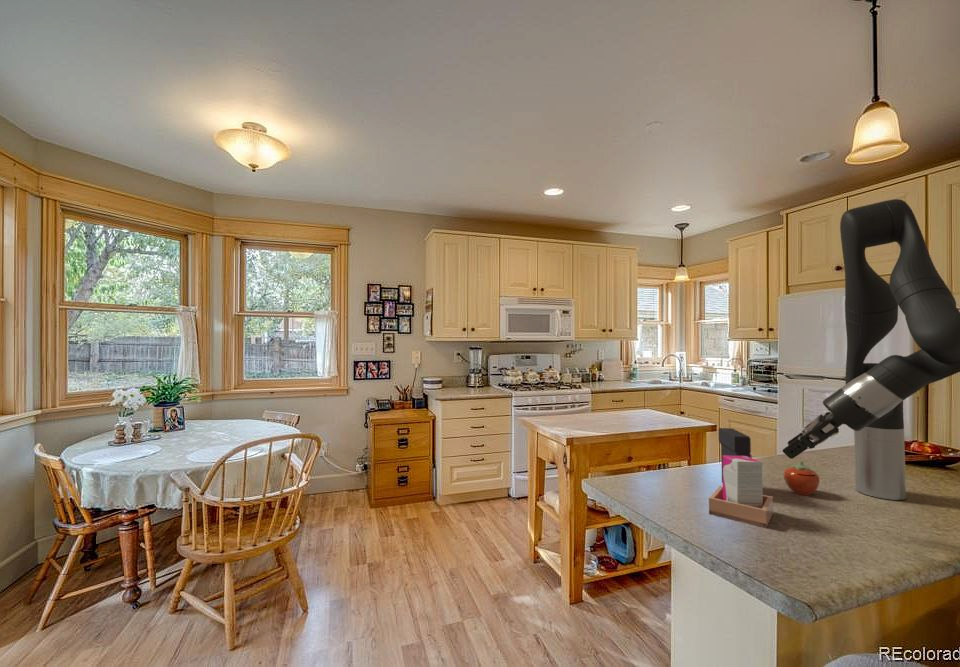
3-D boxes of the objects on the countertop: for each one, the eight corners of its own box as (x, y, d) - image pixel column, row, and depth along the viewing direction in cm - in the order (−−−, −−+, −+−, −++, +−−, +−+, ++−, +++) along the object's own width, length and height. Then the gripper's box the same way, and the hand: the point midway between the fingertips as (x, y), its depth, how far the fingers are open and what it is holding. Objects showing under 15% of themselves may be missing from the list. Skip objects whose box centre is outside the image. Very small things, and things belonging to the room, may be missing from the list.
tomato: (791, 496, 103) (790, 463, 103) (778, 486, 110) (778, 456, 110) (826, 499, 101) (825, 466, 101) (811, 488, 108) (810, 458, 108)
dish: (720, 500, 100) (719, 486, 100) (773, 512, 93) (772, 496, 93) (709, 513, 92) (708, 498, 92) (766, 527, 85) (766, 510, 85)
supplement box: (764, 514, 89) (763, 461, 90) (736, 514, 90) (736, 461, 90) (747, 504, 95) (746, 454, 96) (721, 504, 95) (720, 454, 96)
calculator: (754, 497, 102) (753, 436, 102) (735, 496, 103) (734, 436, 103) (736, 483, 113) (735, 428, 113) (719, 482, 113) (718, 427, 114)
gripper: (843, 384, 87) (777, 431, 94) (842, 389, 76) (768, 442, 84) (878, 412, 83) (807, 458, 90) (882, 422, 72) (801, 473, 80)
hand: (788, 450), depth 87 cm, fingers open, 8 cm apart
